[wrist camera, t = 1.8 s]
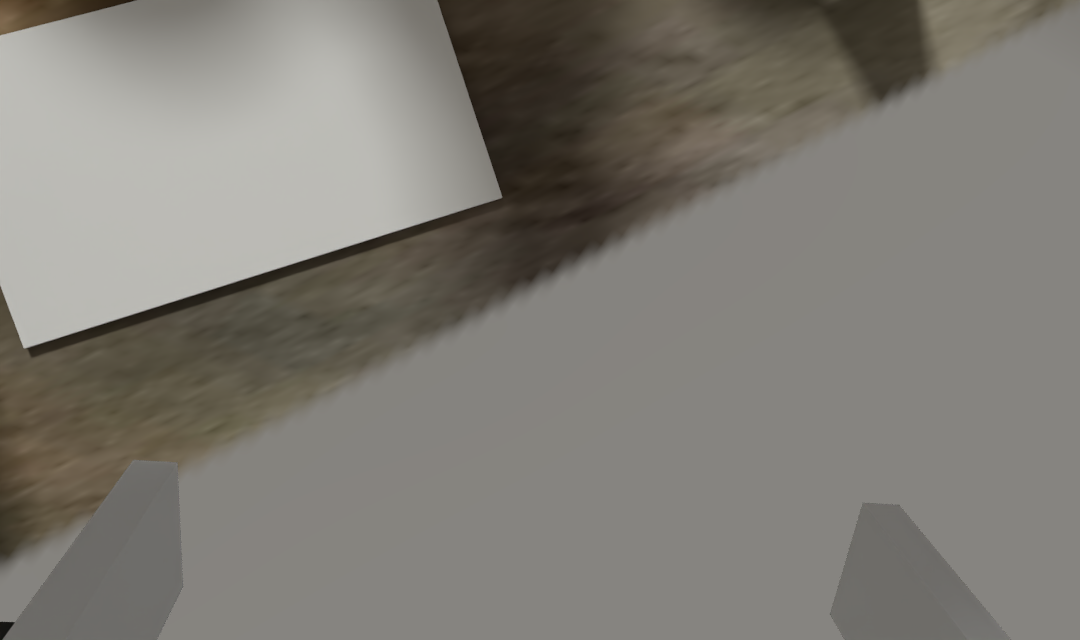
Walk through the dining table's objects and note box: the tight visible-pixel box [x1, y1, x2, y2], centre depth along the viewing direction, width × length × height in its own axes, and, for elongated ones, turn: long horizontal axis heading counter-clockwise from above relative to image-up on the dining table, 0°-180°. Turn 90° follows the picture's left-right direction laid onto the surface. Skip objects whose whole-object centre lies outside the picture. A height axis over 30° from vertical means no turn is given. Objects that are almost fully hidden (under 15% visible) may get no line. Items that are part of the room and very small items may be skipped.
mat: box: [0, 0, 502, 348], centre depth 38 cm, size 22×13×1 cm, turn 108°
